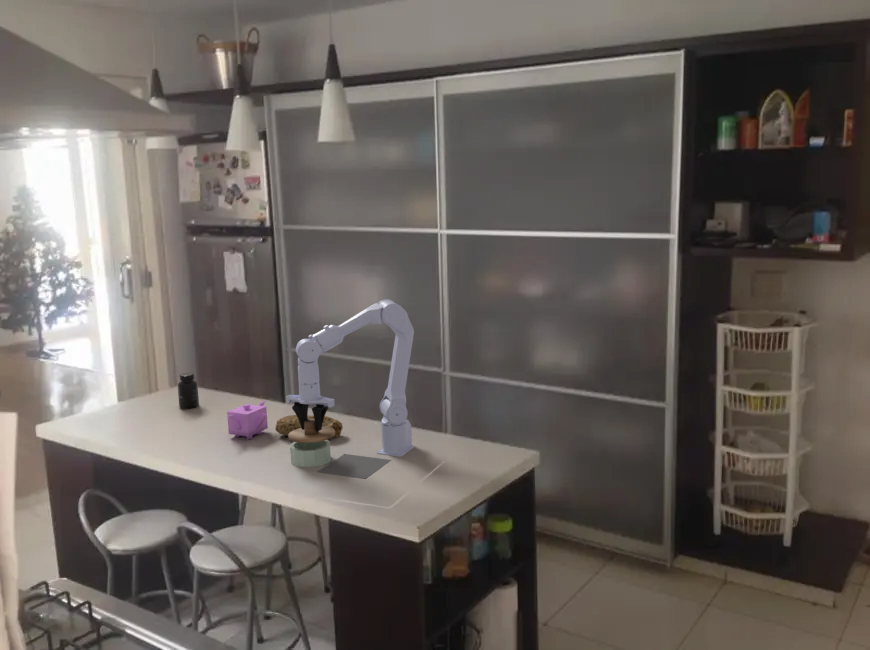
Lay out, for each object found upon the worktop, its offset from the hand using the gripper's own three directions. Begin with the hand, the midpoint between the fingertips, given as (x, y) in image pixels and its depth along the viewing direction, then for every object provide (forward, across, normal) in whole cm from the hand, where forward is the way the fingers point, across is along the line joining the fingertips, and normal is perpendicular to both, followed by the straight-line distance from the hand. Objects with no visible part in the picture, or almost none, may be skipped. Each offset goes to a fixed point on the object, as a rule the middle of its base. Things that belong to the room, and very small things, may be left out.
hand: (311, 429), depth 226 cm
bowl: (+10, -1, 0) cm, 10 cm away
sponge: (+10, -14, +19) cm, 25 cm away
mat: (+9, +13, 0) cm, 16 cm away
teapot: (+10, -32, +14) cm, 36 cm away
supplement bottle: (+10, -72, +33) cm, 80 cm away
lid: (+2, 0, 0) cm, 2 cm away
